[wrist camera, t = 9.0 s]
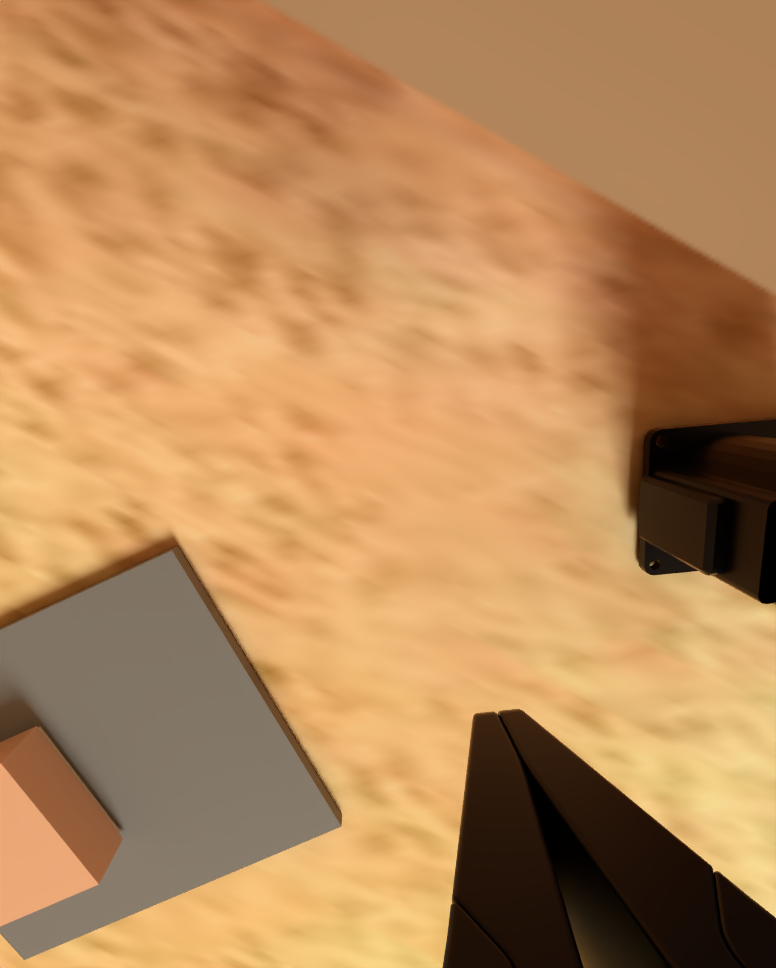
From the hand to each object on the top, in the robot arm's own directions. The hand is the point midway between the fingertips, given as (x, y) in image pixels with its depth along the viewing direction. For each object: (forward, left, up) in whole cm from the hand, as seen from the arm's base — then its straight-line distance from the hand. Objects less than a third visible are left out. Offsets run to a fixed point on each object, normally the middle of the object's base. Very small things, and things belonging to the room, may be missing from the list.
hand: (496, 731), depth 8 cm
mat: (+16, +10, -12) cm, 23 cm away
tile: (+16, +11, -10) cm, 22 cm away
